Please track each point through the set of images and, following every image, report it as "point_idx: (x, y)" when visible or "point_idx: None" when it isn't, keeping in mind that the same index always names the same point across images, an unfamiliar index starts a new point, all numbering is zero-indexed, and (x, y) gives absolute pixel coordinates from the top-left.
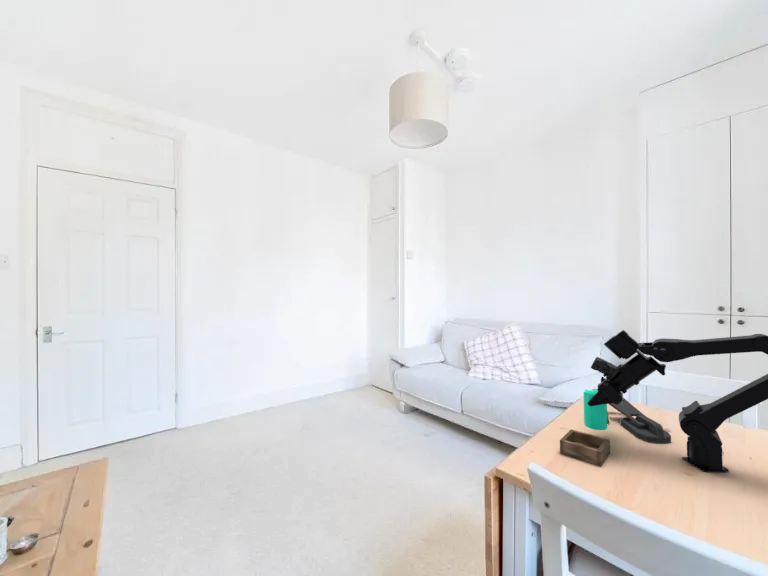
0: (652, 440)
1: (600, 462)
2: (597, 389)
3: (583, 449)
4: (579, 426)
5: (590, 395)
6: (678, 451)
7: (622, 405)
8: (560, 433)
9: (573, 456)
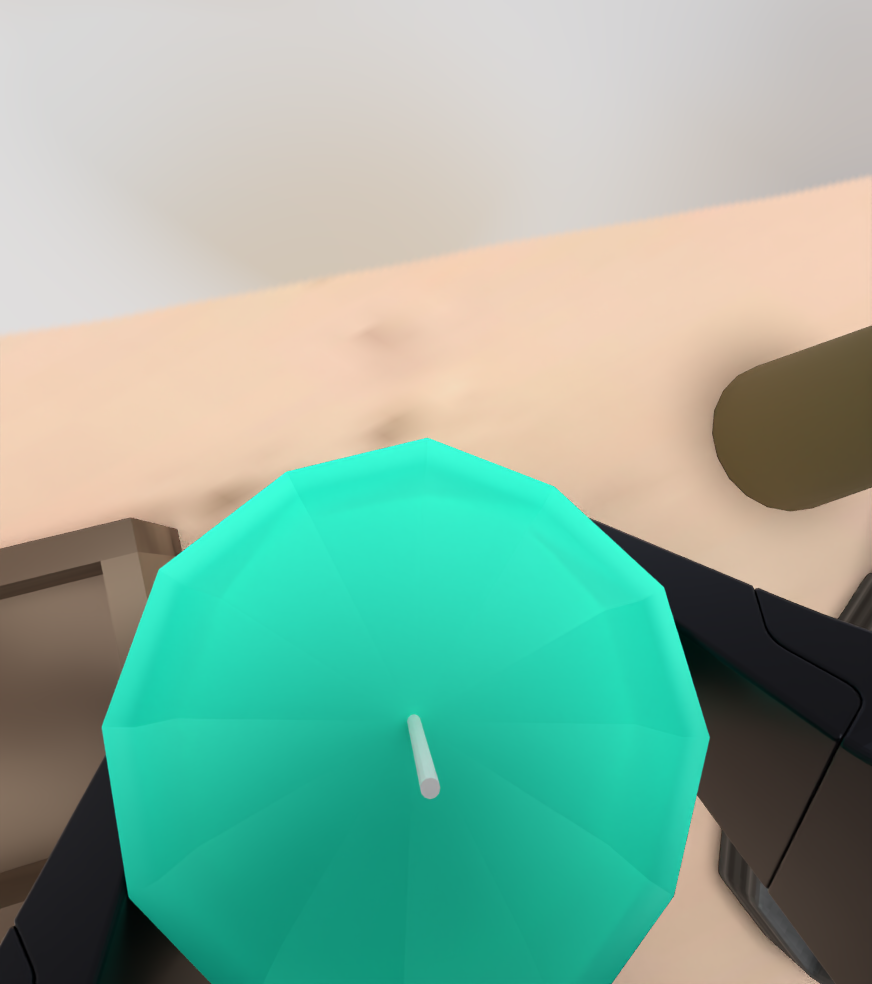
0: (755, 918)
1: None
2: (706, 644)
3: None
4: (543, 401)
5: (121, 757)
6: None
7: None
8: (265, 390)
9: None
